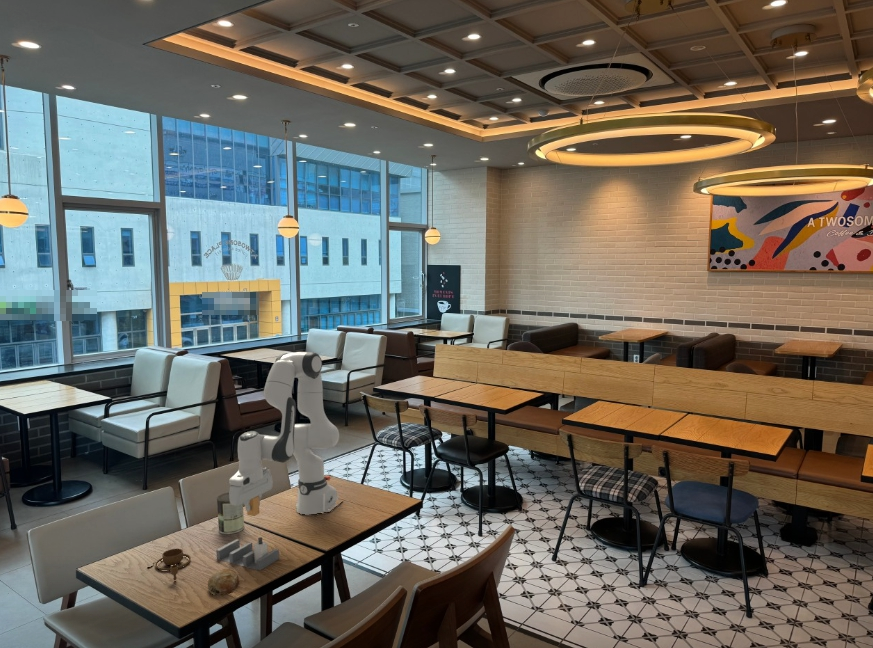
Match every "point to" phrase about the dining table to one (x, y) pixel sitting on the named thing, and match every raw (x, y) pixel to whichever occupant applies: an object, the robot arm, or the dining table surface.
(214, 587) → the bread roll
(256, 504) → the orange plug
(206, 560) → the dining table surface
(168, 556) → the place setting
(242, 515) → the coffee can
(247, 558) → the rack
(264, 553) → the white plug
